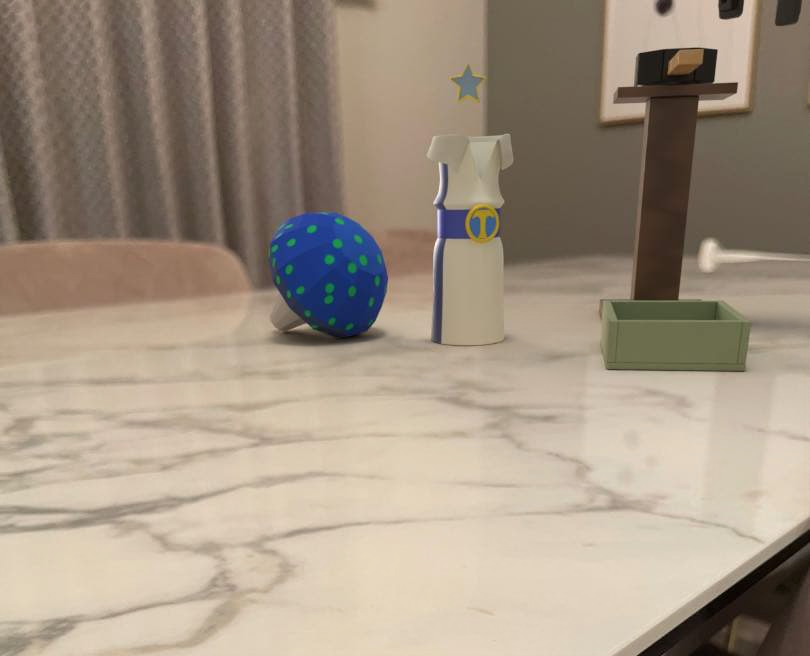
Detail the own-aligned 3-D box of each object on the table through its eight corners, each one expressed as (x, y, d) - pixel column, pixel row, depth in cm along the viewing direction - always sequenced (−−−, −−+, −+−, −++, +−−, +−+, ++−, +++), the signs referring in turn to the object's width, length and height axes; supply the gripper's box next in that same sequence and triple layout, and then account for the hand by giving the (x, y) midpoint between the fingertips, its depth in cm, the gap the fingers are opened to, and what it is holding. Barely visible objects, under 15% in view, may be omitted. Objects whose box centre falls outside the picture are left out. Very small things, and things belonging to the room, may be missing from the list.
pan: (705, 90, 94) (709, 56, 93) (733, 73, 79) (738, 32, 77) (631, 93, 95) (634, 59, 94) (645, 76, 80) (648, 36, 79)
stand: (699, 311, 103) (724, 89, 94) (710, 321, 96) (738, 82, 86) (599, 311, 105) (613, 94, 96) (601, 321, 98) (617, 86, 88)
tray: (718, 343, 83) (723, 300, 82) (744, 371, 71) (751, 321, 70) (600, 342, 85) (603, 300, 84) (606, 369, 73) (609, 320, 72)
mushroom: (264, 253, 99) (347, 168, 90) (343, 347, 103) (430, 273, 94) (202, 293, 89) (289, 200, 80) (293, 396, 92) (386, 318, 83)
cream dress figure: (524, 341, 86) (534, 62, 77) (447, 348, 84) (446, 60, 74) (491, 330, 93) (496, 73, 84) (418, 335, 91) (414, 72, 81)
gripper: (771, -223, 69) (744, 9, 75) (870, -189, 76) (838, 21, 82) (696, -190, 75) (677, 23, 81) (795, -161, 82) (770, 32, 88)
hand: (758, 21), depth 82 cm, fingers open, 8 cm apart
